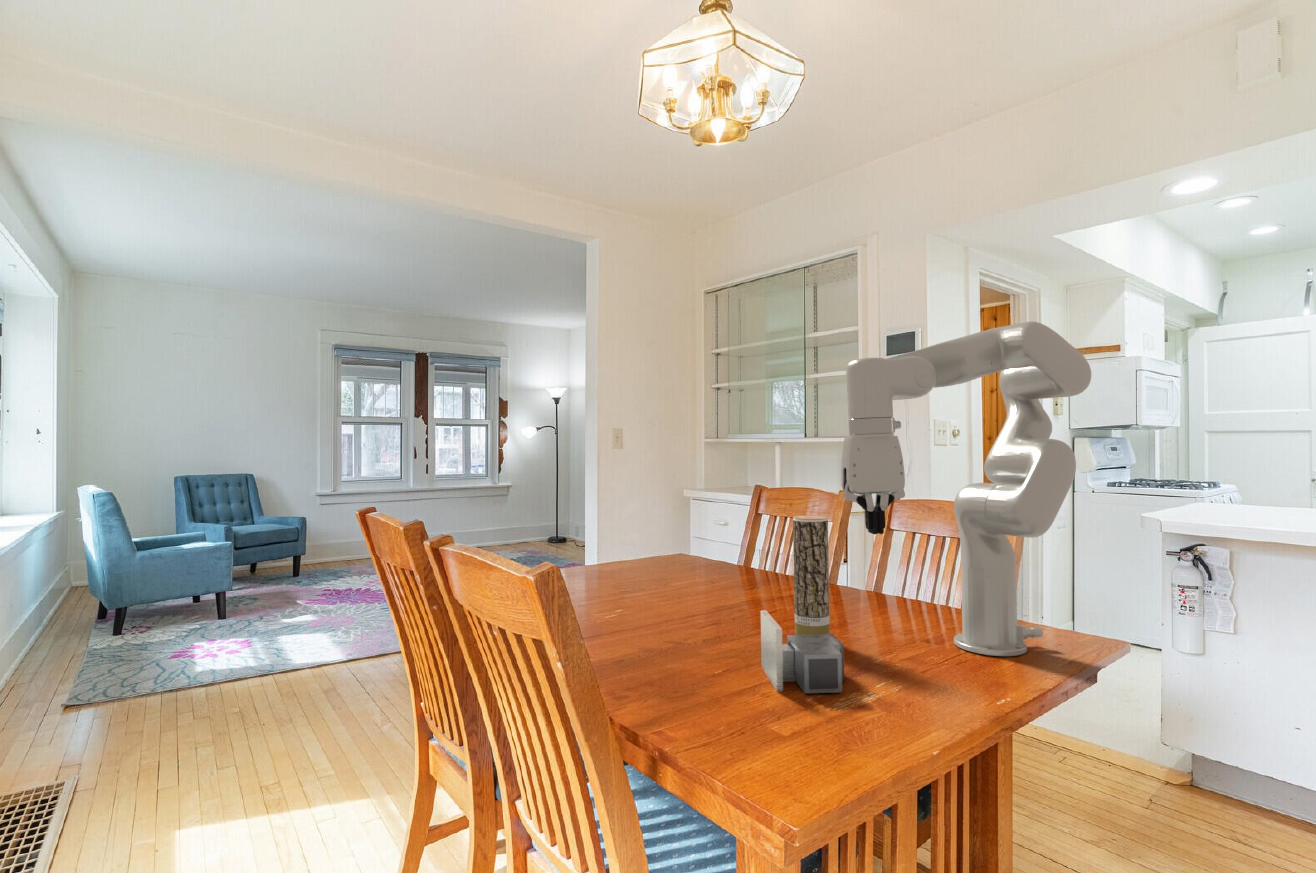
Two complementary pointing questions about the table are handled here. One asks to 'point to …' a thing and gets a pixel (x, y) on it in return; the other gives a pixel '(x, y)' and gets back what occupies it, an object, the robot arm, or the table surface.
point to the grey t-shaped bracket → (776, 653)
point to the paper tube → (811, 575)
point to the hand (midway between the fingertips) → (875, 532)
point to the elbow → (818, 662)
